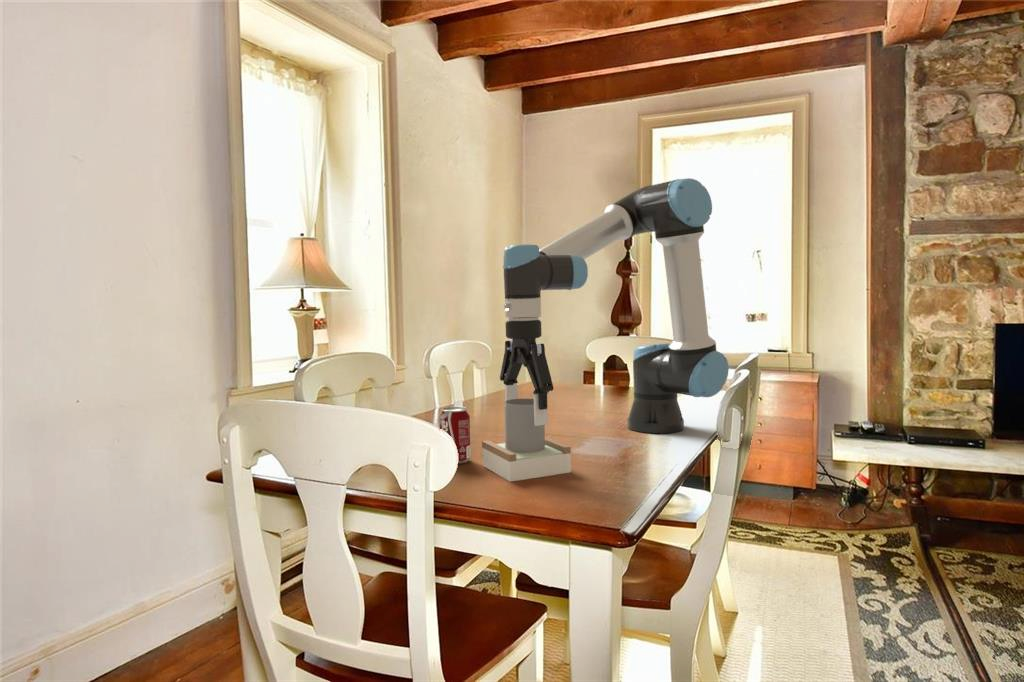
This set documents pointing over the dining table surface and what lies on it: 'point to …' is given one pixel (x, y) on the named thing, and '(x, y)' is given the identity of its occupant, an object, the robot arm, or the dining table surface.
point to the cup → (522, 427)
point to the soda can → (457, 429)
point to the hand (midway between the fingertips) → (526, 419)
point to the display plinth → (526, 460)
